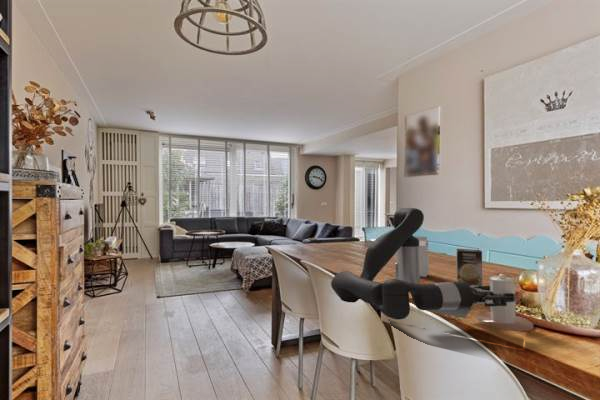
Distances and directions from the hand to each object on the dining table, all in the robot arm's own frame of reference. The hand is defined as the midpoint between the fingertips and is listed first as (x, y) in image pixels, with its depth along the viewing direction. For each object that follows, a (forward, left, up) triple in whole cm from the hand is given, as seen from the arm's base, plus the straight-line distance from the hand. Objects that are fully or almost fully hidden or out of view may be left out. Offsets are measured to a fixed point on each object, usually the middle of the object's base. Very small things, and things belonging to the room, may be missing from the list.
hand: (501, 293), depth 92 cm
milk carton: (-38, +52, -9) cm, 65 cm away
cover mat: (-15, +3, -9) cm, 17 cm away
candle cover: (0, +1, -8) cm, 8 cm away
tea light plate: (0, +1, -9) cm, 9 cm away
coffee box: (-14, +36, -9) cm, 39 cm away
